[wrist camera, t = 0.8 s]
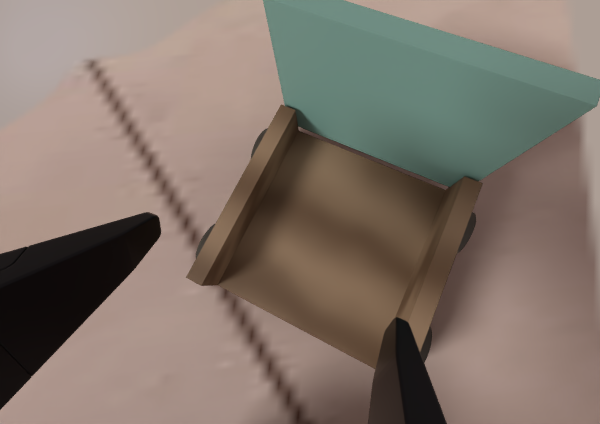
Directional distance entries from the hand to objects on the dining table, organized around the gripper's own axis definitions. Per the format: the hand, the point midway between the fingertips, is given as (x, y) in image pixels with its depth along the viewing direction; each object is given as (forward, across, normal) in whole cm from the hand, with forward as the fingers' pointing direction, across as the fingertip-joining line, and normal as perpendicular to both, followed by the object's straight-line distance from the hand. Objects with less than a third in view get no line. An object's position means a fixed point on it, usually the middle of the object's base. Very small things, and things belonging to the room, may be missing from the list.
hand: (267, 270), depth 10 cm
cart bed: (+12, -2, +8) cm, 15 cm away
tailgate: (+17, -2, +1) cm, 17 cm away
